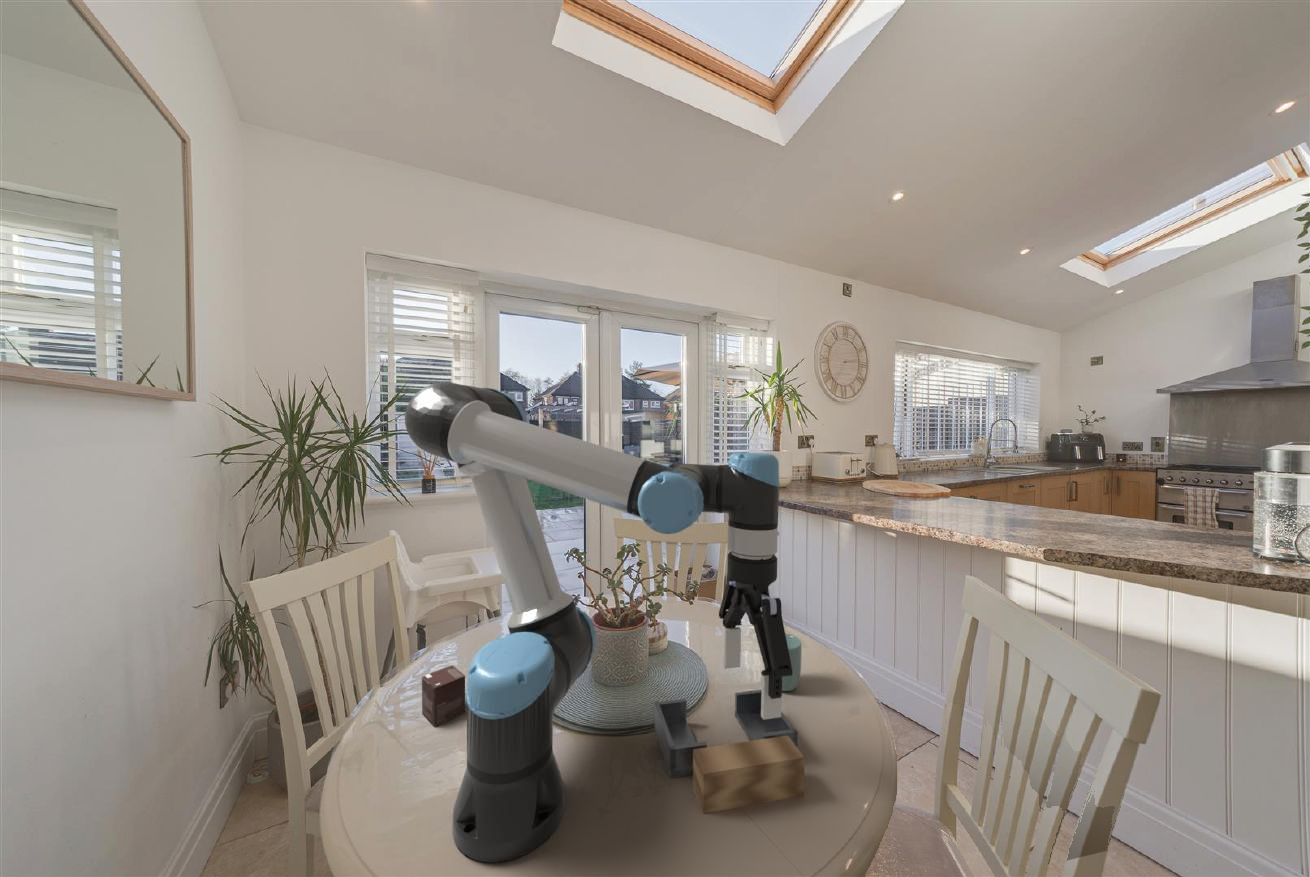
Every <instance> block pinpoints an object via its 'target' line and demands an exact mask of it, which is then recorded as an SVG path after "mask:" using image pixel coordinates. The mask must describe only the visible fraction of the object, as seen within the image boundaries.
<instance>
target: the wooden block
mask: <svg viewBox="0 0 1310 877" xmlns="http://www.w3.org/2000/svg"><path fill="white" fill-rule="evenodd" d="M692 788H693V791H694V793H695V795H696V796H695V797H696V799H697V801H698V805H699V807H700V810H701V812H702V814H708V813H714V812H720V811H725V810H731V809H736V808H741V807H748V806H753V805H758V804H763V803H769V802H775V801H780V800H785V799H790V798H797V797H802V796H805V756H804V754H803V753H802V752H801V751H800V750H799V748H798V746H797V747H796V746H795V744H794V743H793V742H792V740H791V739H790V738H789V736H788V735H787V736H781V737H774V738H767V739H760V740H754V741H750V740H749V741H748V740H746V741H742V742H735V743H728V744H722V745H715V746H714V745H713V746H707V748H700V749H693V775H692Z"/></svg>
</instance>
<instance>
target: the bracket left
mask: <svg viewBox="0 0 1310 877" xmlns="http://www.w3.org/2000/svg"><path fill="white" fill-rule="evenodd" d="M653 709H654V710H653V728H654V731H655V736H656V737H657V741H658V743H659V747H660V751H661V753H662V755H663V759H664V763H665V765H666V769H667V771H668V774H669V778H670V779H674V778H680V777H687V776H693V749H700V748H707V747H708V744H707V741H699V742H697V741H696V738H695V737H694V734H693V732H692V729H691V727H690V725H689V722H688V721H687V699H686V698H681V699H673V700H671V699H670V700H666V701H665V700H663V701H656V702H654V704H653Z"/></svg>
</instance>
